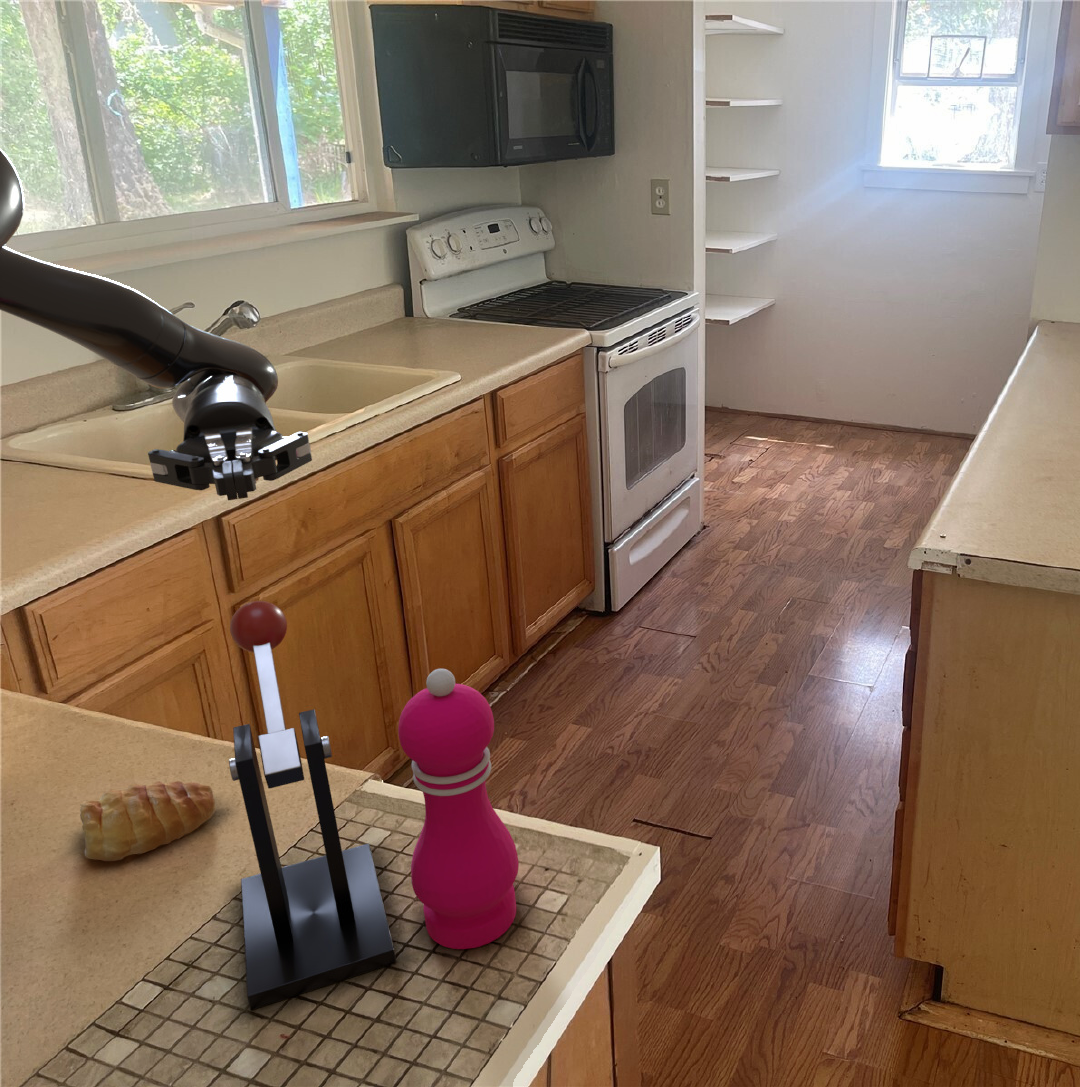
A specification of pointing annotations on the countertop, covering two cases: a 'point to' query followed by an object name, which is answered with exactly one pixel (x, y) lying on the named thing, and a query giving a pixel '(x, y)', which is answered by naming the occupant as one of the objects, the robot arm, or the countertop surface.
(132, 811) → the pastry
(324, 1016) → the countertop surface
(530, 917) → the countertop surface
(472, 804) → the pepper mill
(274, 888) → the bracket
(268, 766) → the lever
